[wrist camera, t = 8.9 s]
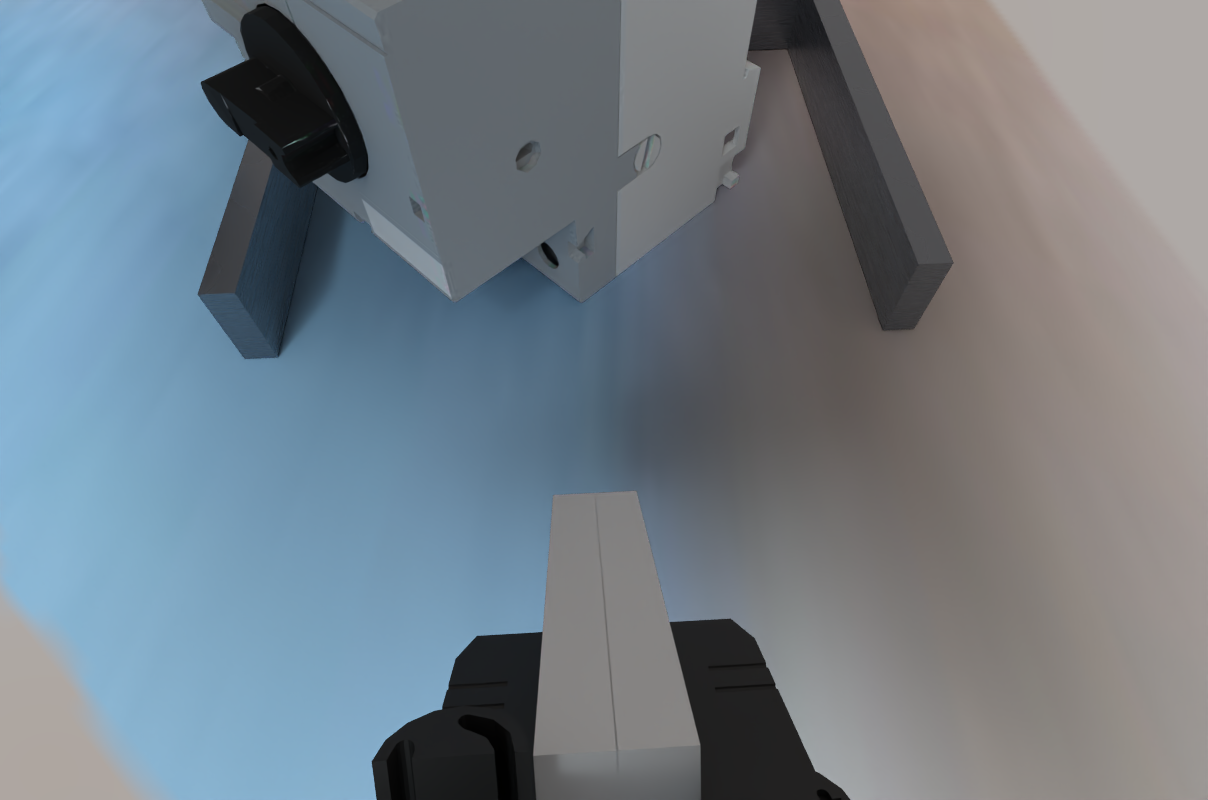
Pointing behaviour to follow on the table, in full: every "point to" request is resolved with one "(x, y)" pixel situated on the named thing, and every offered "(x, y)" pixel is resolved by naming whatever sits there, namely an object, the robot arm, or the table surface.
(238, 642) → the table surface
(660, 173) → the circuit breaker
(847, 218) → the lockout stall
